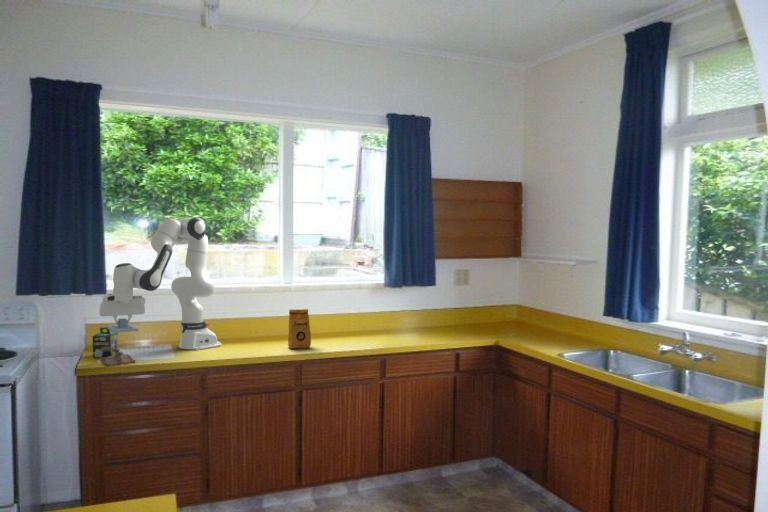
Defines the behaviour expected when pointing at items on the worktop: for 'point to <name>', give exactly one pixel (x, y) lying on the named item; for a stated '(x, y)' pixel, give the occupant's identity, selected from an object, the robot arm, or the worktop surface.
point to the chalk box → (104, 343)
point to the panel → (116, 329)
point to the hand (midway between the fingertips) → (122, 324)
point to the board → (117, 358)
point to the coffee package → (299, 329)
